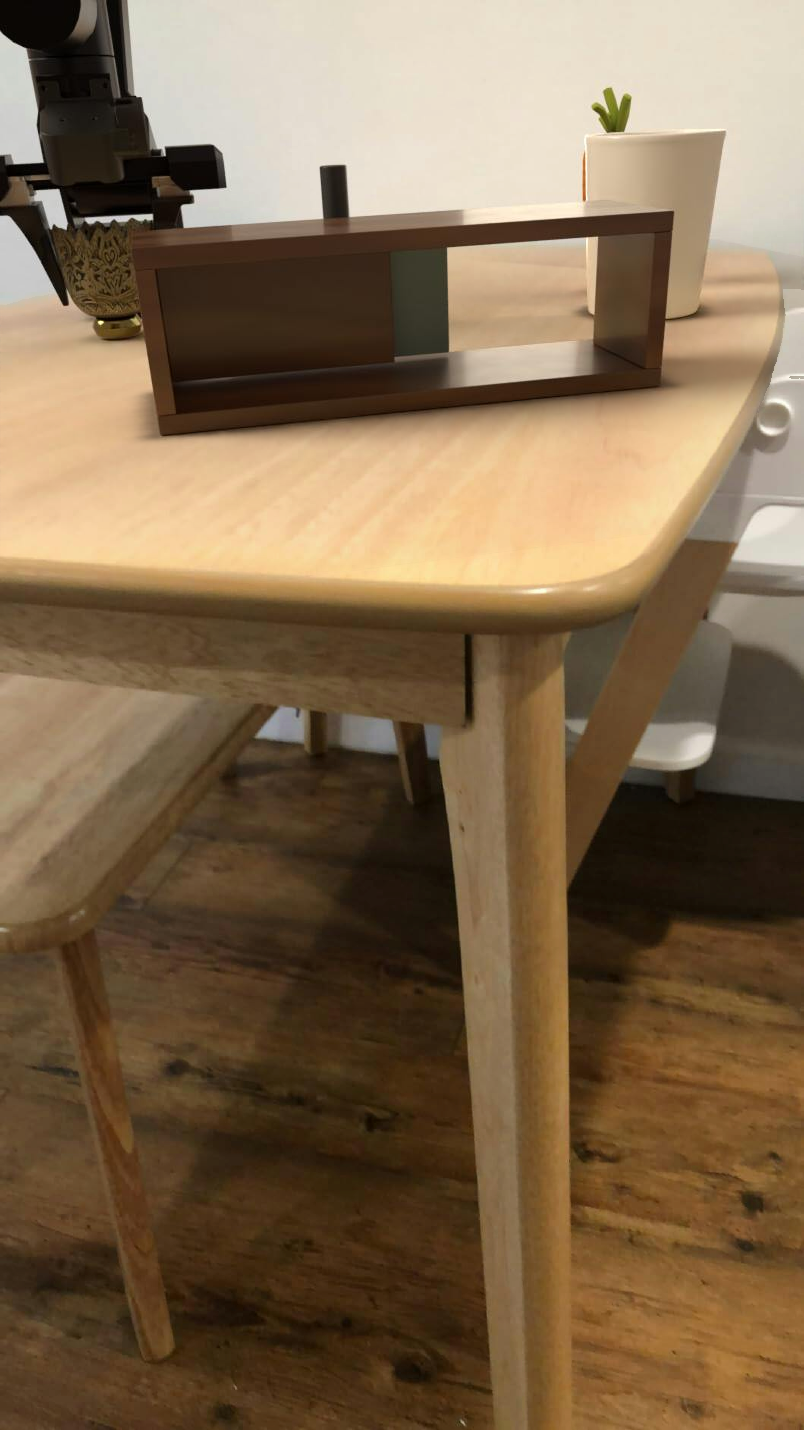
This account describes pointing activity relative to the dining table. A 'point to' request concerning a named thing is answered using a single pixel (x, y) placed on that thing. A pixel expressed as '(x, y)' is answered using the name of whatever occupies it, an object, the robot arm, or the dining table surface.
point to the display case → (377, 315)
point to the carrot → (609, 120)
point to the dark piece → (403, 280)
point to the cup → (101, 274)
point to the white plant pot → (660, 197)
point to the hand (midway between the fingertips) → (113, 301)
